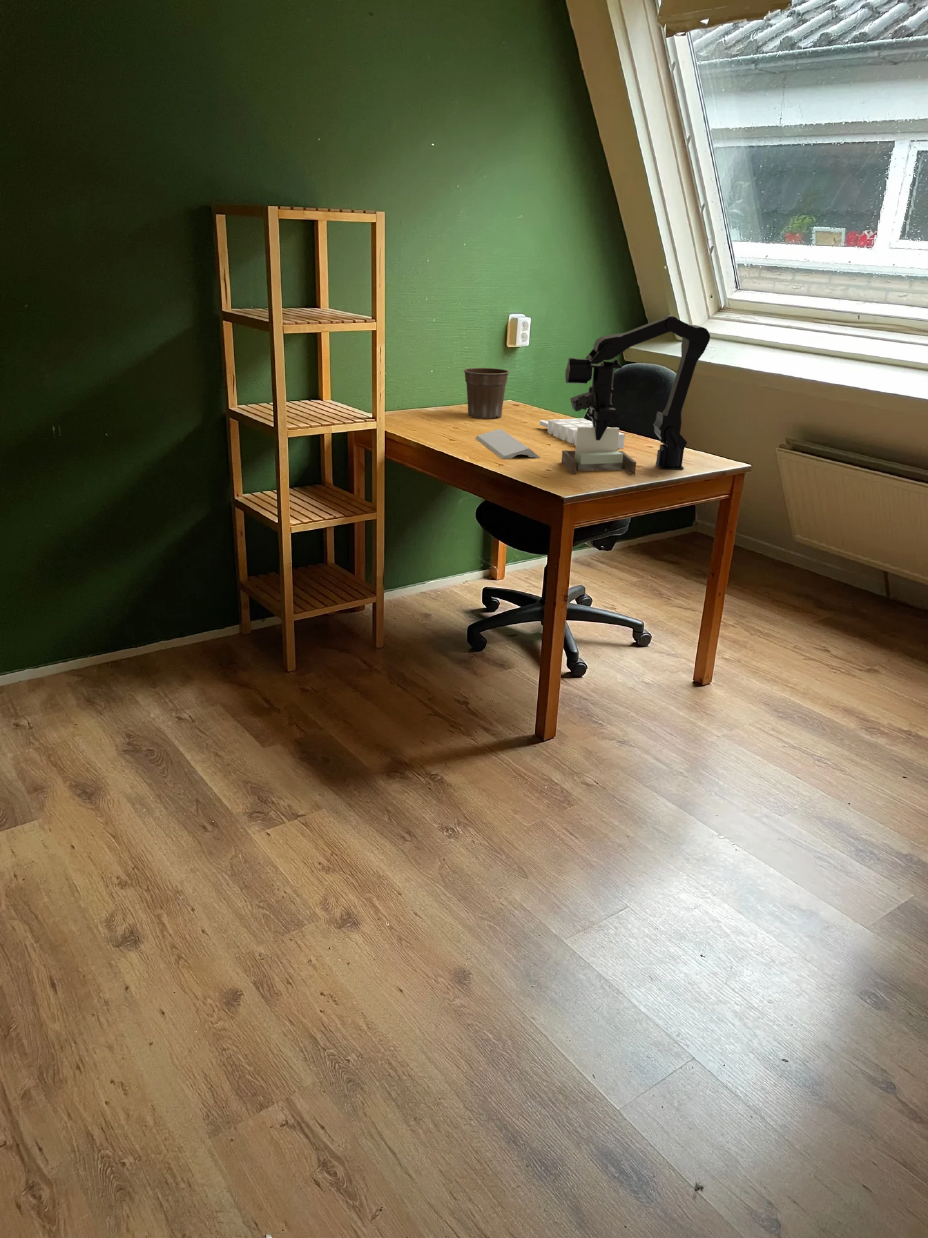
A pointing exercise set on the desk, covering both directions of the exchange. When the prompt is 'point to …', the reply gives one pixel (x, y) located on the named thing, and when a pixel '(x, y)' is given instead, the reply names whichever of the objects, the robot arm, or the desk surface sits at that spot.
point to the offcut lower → (599, 466)
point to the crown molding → (504, 444)
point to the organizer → (572, 429)
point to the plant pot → (485, 391)
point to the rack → (570, 462)
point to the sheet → (590, 444)
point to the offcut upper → (599, 457)
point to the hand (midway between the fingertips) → (597, 439)
